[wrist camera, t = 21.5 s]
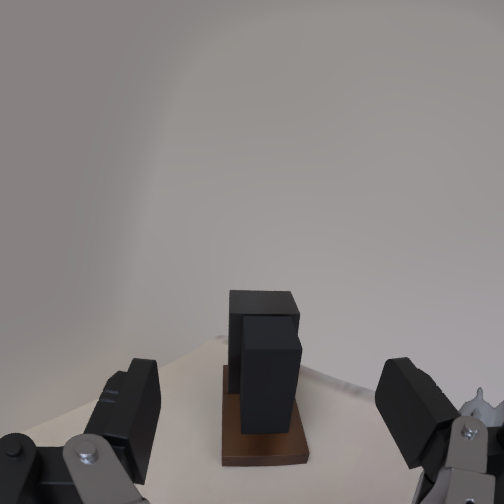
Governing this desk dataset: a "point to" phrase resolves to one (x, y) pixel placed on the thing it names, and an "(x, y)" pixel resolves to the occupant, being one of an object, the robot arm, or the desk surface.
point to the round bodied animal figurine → (483, 410)
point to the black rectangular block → (268, 374)
